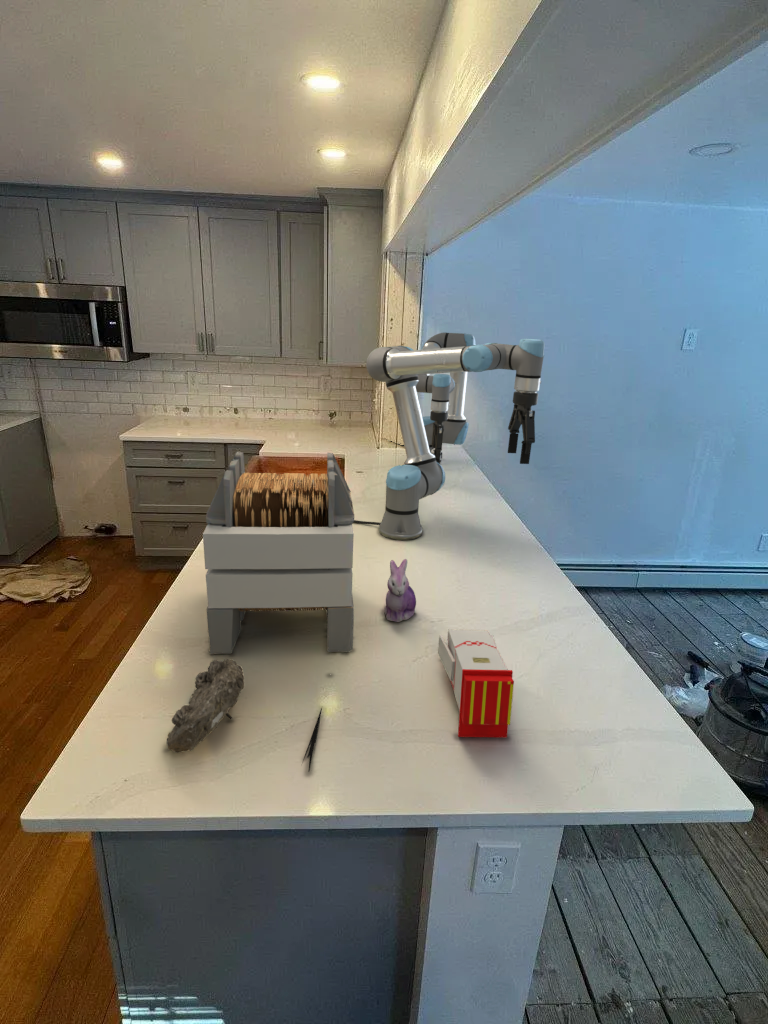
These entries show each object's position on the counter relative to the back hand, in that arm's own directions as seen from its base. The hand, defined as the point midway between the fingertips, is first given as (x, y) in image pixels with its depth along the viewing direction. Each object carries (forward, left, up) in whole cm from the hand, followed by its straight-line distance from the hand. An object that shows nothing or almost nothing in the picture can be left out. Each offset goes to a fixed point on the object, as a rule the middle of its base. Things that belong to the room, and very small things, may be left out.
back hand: (435, 463), depth 251 cm
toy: (+145, -7, -11) cm, 145 cm away
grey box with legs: (+116, -50, -11) cm, 127 cm away
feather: (+154, -38, -11) cm, 159 cm away
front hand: (+66, +18, +20) cm, 72 cm away
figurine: (+113, -21, -11) cm, 116 cm away
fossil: (+154, -58, -11) cm, 165 cm away
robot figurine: (0, 0, -1) cm, 1 cm away
